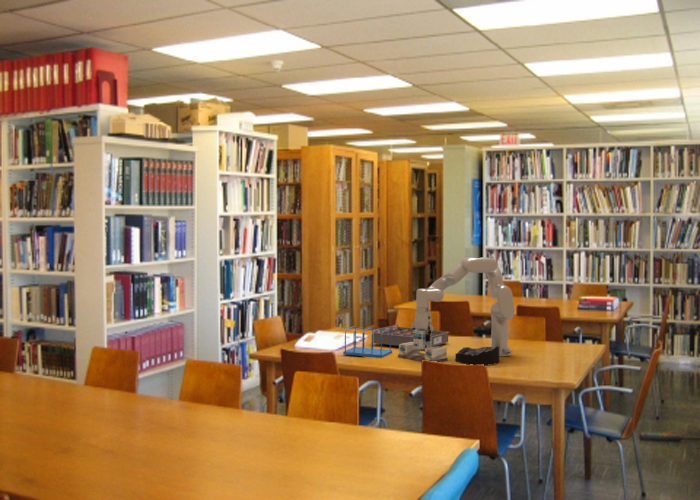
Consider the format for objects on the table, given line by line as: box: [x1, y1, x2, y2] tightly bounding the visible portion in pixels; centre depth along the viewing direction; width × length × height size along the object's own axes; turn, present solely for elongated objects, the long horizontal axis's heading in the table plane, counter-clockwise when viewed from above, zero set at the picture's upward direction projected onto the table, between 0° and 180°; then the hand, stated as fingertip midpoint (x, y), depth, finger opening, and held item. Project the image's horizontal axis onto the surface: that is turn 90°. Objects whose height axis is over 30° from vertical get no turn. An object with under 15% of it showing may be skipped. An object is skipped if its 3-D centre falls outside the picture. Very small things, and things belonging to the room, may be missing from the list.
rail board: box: [397, 342, 449, 363], centre depth 413 cm, size 26×14×8 cm, turn 43°
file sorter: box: [342, 325, 393, 358], centre depth 428 cm, size 25×17×15 cm
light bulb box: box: [413, 329, 432, 350], centre depth 413 cm, size 11×7×11 cm, turn 143°
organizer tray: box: [373, 323, 450, 348], centre depth 461 cm, size 32×40×10 cm
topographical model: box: [455, 346, 500, 366], centre depth 408 cm, size 25×25×10 cm
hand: (422, 340), depth 413 cm, fingers closed on light bulb box, 7 cm apart
